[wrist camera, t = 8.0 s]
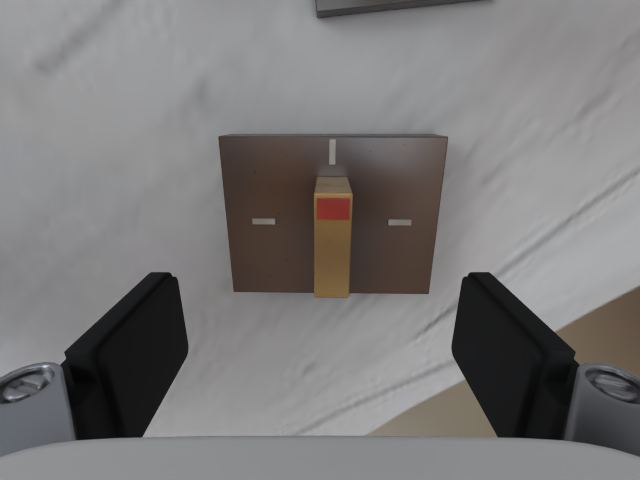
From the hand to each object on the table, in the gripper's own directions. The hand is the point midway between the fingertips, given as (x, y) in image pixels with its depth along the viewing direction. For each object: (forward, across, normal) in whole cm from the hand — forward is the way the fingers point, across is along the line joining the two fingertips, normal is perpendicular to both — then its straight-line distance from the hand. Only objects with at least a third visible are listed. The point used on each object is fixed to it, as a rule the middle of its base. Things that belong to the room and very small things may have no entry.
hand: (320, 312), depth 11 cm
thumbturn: (+10, +1, 0) cm, 10 cm away
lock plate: (+13, +1, 0) cm, 13 cm away
